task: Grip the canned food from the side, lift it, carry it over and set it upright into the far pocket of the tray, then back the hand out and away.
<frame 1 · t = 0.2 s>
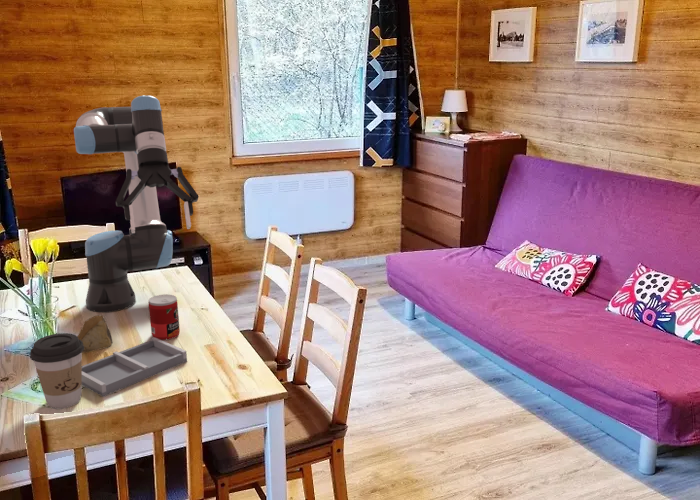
hand: (161, 229, 164), 35 cm above the table, tool tilted 35°, fingers open, 13 cm apart
canned food: (166, 335, 187), on the table
tray: (131, 370, 165), on the table
coffee cup: (64, 401, 150), on the table
rock: (93, 349, 178), on the table
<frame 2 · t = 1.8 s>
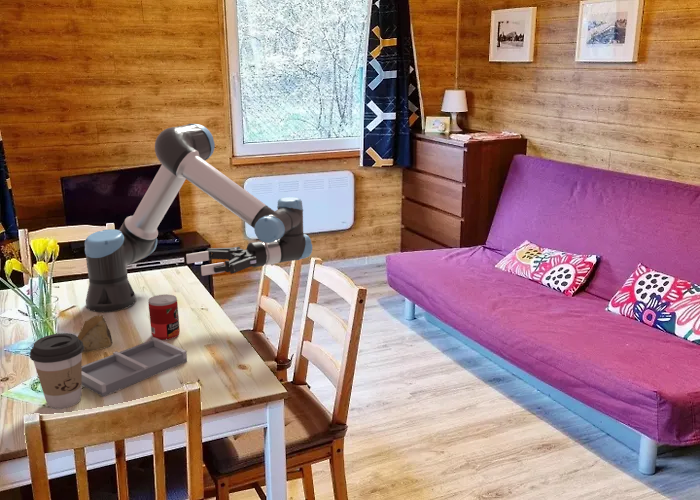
hand: (193, 264, 186), 19 cm above the table, tool horizontal, fingers open, 13 cm apart
nothing on the table moved.
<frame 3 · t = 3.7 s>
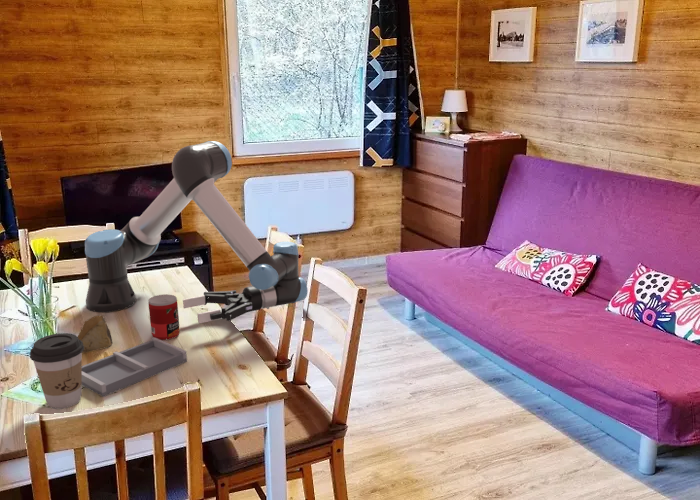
hand: (190, 310, 188), 6 cm above the table, tool horizontal, fingers open, 13 cm apart
nothing on the table moved.
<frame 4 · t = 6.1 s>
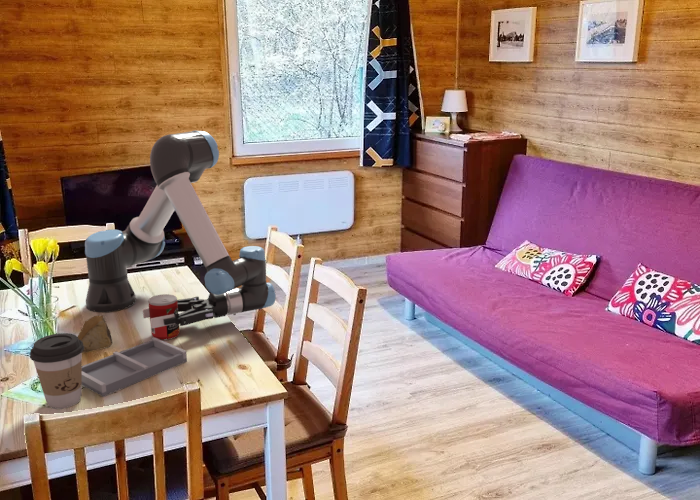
hand: (147, 318, 183), 6 cm above the table, tool horizontal, fingers closed on canned food, 8 cm apart
canned food: (166, 335, 187), on the table, touching gripper
everything else where it was.
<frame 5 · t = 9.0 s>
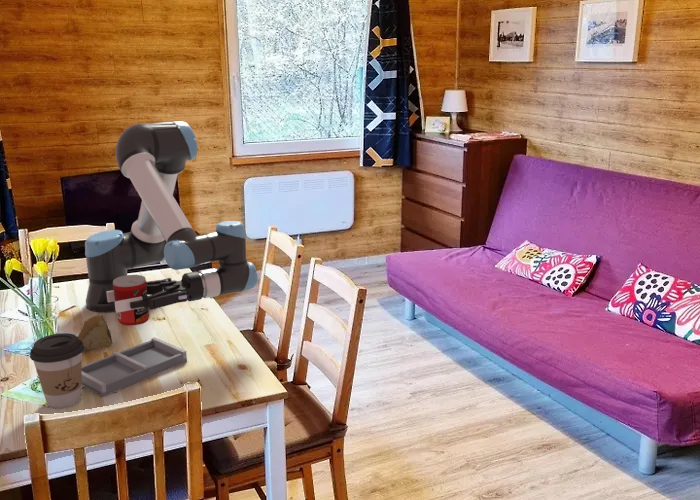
hand: (111, 301, 161), 18 cm above the table, tool horizontal, fingers closed on canned food, 8 cm apart
canned food: (133, 321, 165), point 12 cm above the table, touching gripper
everything else where it was.
when the fingers open (8 cm above the table, at t = 11.9 s): canned food drops 1 cm, resting on tray.
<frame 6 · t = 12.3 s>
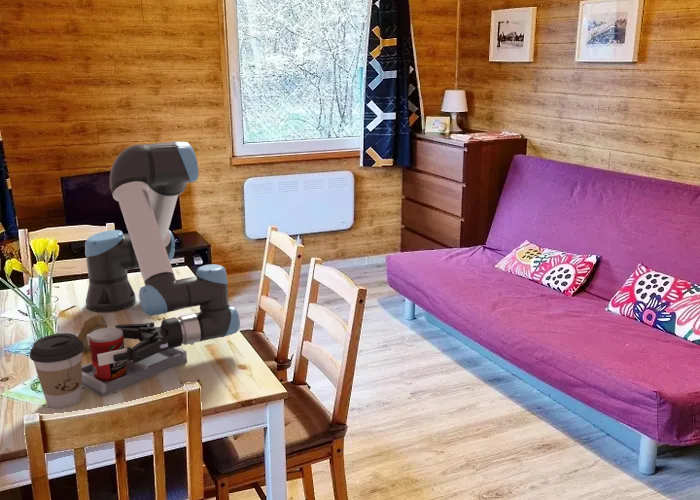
hand: (92, 349, 157), 8 cm above the table, tool horizontal, fingers open, 13 cm apart
canned food: (110, 375, 161), point 1 cm above the table, touching tray
everything else where it was.
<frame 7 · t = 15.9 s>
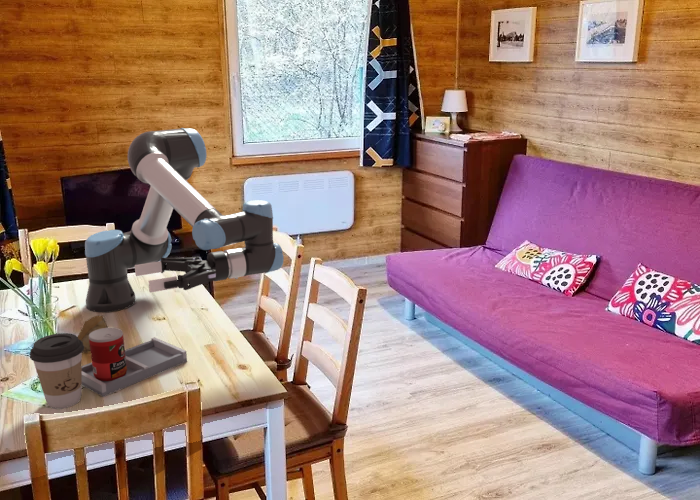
hand: (141, 278, 159), 24 cm above the table, tool horizontal, fingers open, 13 cm apart
nothing on the table moved.
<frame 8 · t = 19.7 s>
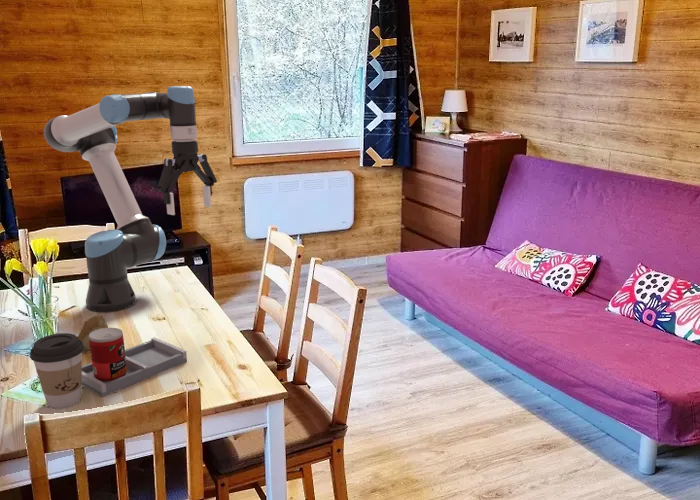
hand: (189, 210, 198), 32 cm above the table, tool pointing down, fingers open, 13 cm apart
nothing on the table moved.
at the end: canned food inside the target area on the tray (0.2 cm from its centre), point 0.8 cm above the tray's base; canned food tilted 0°; the gripper is holding nothing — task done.
